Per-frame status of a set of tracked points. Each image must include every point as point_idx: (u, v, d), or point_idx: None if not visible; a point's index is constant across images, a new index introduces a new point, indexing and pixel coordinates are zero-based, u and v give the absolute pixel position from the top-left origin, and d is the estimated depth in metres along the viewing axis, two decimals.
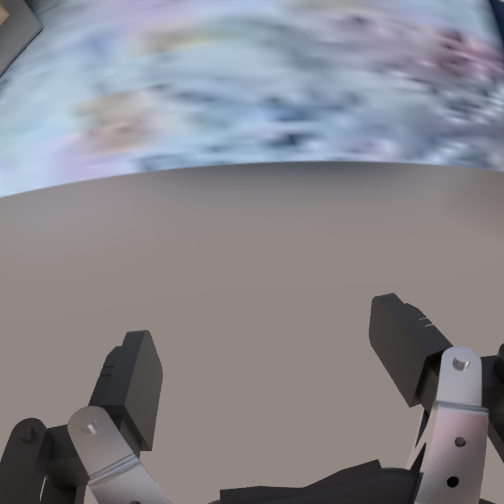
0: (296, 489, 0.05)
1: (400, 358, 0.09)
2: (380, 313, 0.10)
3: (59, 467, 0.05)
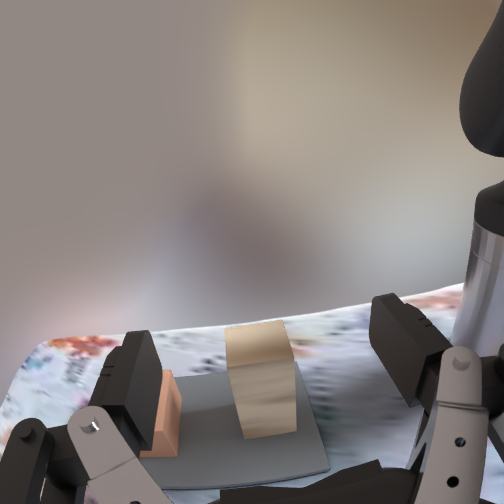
0: (297, 488, 0.05)
1: (400, 358, 0.09)
2: (380, 313, 0.10)
3: (59, 467, 0.05)
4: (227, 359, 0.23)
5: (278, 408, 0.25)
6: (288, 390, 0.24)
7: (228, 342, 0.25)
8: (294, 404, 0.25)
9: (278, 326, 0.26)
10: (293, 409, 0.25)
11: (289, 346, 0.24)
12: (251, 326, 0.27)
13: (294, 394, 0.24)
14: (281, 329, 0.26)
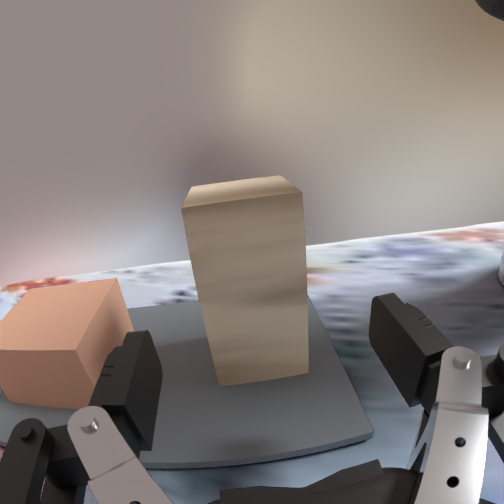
0: (296, 489, 0.05)
1: (400, 358, 0.09)
2: (380, 313, 0.10)
3: (59, 467, 0.05)
4: (185, 203, 0.13)
5: (277, 318, 0.15)
6: (294, 274, 0.14)
7: (192, 193, 0.15)
8: (305, 310, 0.15)
9: (274, 178, 0.17)
10: (303, 322, 0.15)
11: (293, 186, 0.14)
12: (233, 182, 0.17)
13: (305, 285, 0.15)
14: (279, 179, 0.16)
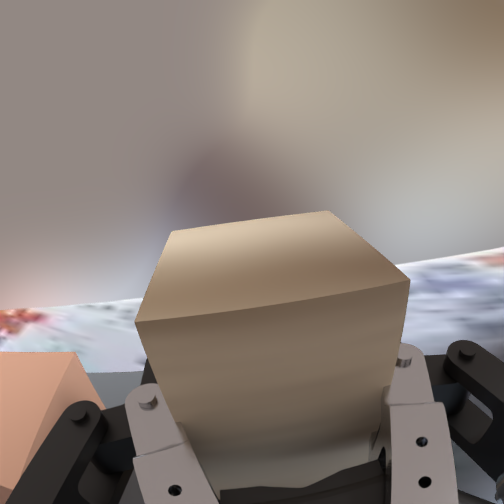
0: (297, 488, 0.05)
1: None
2: None
3: (107, 454, 0.06)
4: (147, 297, 0.06)
5: (323, 463, 0.08)
6: (364, 414, 0.07)
7: (169, 255, 0.08)
8: (368, 448, 0.07)
9: (322, 219, 0.09)
10: (362, 460, 0.08)
11: (377, 254, 0.07)
12: (246, 224, 0.10)
13: (377, 423, 0.07)
14: (333, 224, 0.09)
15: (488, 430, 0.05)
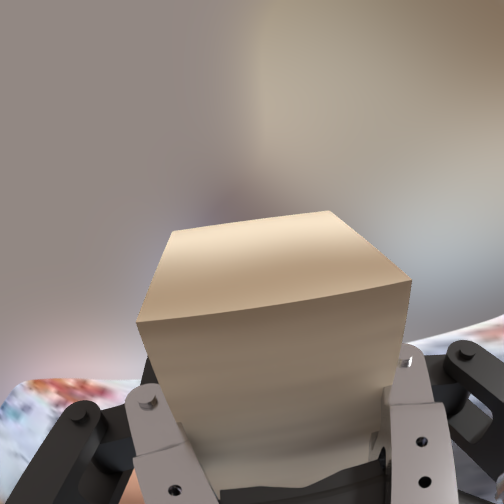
0: (297, 489, 0.05)
1: None
2: None
3: (107, 454, 0.06)
4: (148, 297, 0.06)
5: (324, 464, 0.07)
6: (366, 414, 0.07)
7: (170, 255, 0.08)
8: None
9: (323, 220, 0.09)
10: (363, 460, 0.08)
11: (378, 254, 0.06)
12: (247, 224, 0.09)
13: (378, 423, 0.07)
14: (335, 224, 0.09)
15: (488, 430, 0.05)
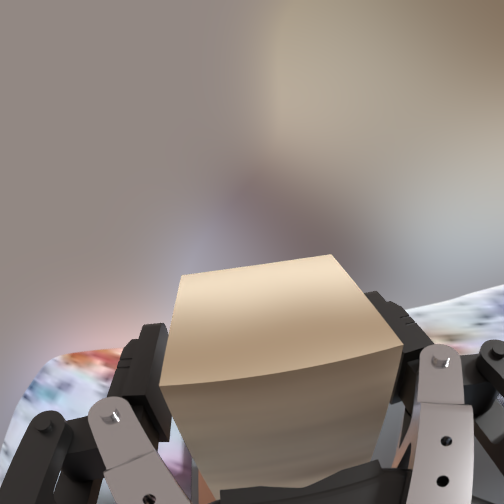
0: (296, 489, 0.05)
1: None
2: None
3: (76, 461, 0.06)
4: (167, 358, 0.06)
5: None
6: (359, 446, 0.07)
7: (182, 308, 0.08)
8: None
9: (325, 267, 0.10)
10: None
11: (375, 314, 0.07)
12: (252, 270, 0.10)
13: (370, 452, 0.07)
14: (336, 273, 0.09)
15: None
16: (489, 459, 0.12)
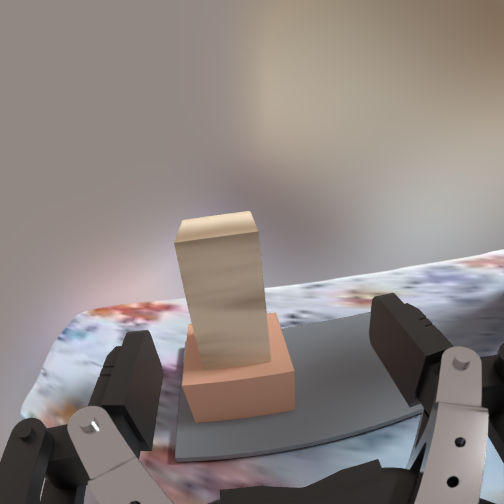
0: (296, 488, 0.05)
1: (400, 358, 0.09)
2: (380, 313, 0.10)
3: (59, 467, 0.05)
4: (177, 238, 0.19)
5: (244, 319, 0.21)
6: (255, 288, 0.20)
7: (182, 227, 0.21)
8: (264, 313, 0.21)
9: (244, 214, 0.22)
10: (264, 322, 0.21)
11: (254, 225, 0.20)
12: (213, 217, 0.23)
13: (263, 296, 0.20)
14: (247, 216, 0.22)
15: None
16: None
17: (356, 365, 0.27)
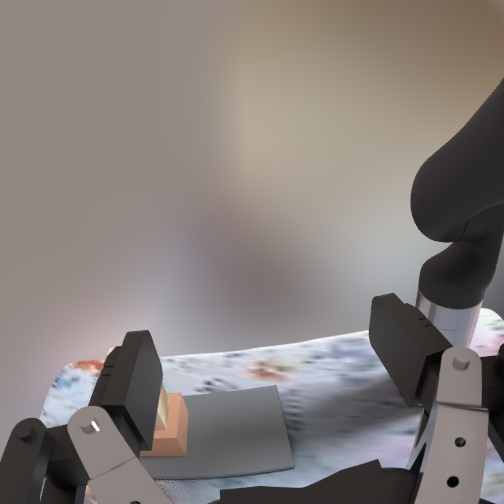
0: (296, 489, 0.05)
1: (400, 358, 0.09)
2: (380, 313, 0.10)
3: (59, 467, 0.05)
4: None
5: None
6: None
7: None
8: None
9: None
10: None
11: None
12: None
13: None
14: None
15: None
16: (257, 437, 0.36)
17: (234, 430, 0.38)
